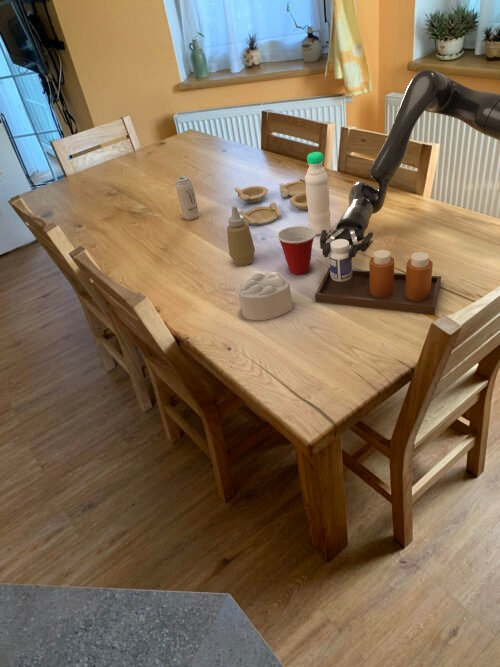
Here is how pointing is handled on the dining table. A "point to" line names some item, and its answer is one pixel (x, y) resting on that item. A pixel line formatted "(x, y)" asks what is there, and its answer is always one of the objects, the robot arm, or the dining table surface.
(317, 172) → the water bottle
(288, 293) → the lumpy-topped squat cylinder
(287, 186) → the tableware set
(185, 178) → the energy drink can
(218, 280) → the dining table surface
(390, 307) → the tray
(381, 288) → the amber bottle
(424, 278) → the amber bottle
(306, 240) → the plastic cup
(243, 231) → the squeeze bottle
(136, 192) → the dining table surface
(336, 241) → the pill bottle
